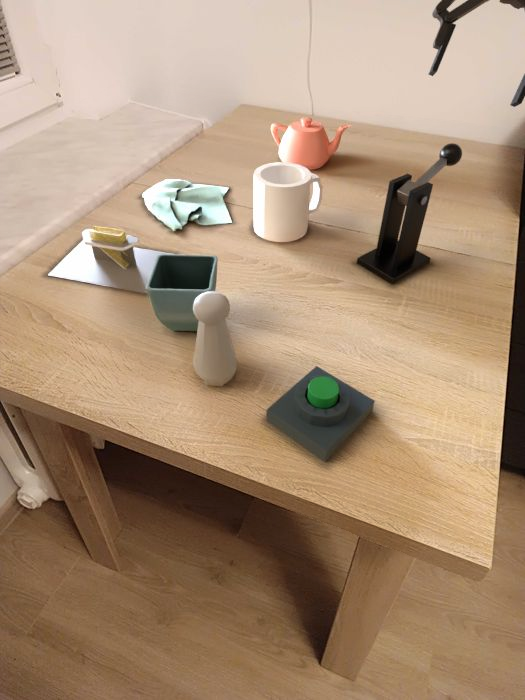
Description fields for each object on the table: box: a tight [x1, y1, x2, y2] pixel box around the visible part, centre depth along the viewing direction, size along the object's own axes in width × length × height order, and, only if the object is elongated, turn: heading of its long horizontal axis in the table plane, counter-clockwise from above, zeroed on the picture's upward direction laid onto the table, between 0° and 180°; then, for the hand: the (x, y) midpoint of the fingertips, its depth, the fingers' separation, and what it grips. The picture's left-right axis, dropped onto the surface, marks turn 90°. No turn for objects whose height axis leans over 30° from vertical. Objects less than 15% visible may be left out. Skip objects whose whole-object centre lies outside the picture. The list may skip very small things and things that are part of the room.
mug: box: [253, 161, 324, 243], centre depth 92 cm, size 14×10×11 cm
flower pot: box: [146, 253, 219, 332], centre depth 72 cm, size 9×9×9 cm
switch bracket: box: [356, 173, 434, 285], centre depth 82 cm, size 10×8×15 cm
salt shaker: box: [192, 290, 239, 387], centre depth 63 cm, size 6×6×13 cm
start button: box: [307, 377, 339, 409], centre depth 59 cm, size 4×4×2 cm
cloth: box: [141, 178, 233, 232], centre depth 100 cm, size 20×22×2 cm
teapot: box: [270, 116, 351, 171], centre depth 114 cm, size 12×18×10 cm
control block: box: [265, 365, 376, 463], centre depth 61 cm, size 10×9×4 cm
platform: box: [47, 225, 176, 294], centre depth 84 cm, size 12×18×7 cm, turn 74°
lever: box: [397, 142, 463, 207], centre depth 79 cm, size 13×3×3 cm, turn 129°
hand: (473, 89), depth 76 cm, fingers open, 13 cm apart
